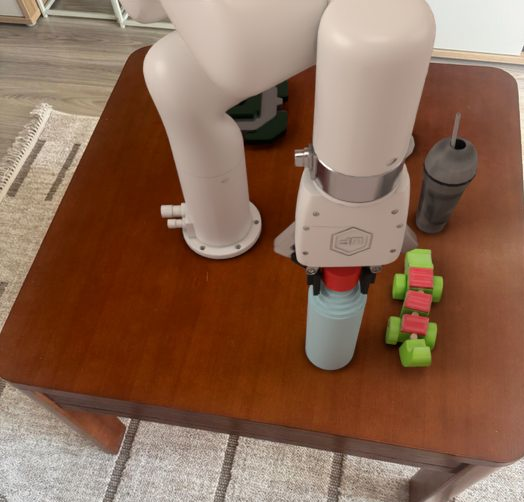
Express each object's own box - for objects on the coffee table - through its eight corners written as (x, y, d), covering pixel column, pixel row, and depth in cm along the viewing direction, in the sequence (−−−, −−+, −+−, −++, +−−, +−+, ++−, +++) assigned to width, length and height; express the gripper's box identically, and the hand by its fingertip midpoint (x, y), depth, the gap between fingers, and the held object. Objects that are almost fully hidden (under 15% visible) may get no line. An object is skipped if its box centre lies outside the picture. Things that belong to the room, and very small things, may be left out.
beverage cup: (452, 243, 81) (498, 138, 63) (404, 237, 82) (436, 132, 64) (454, 207, 84) (499, 97, 66) (408, 201, 85) (440, 92, 67)
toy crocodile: (395, 257, 80) (403, 231, 75) (440, 263, 79) (451, 238, 74) (380, 372, 72) (387, 353, 66) (429, 381, 71) (441, 362, 65)
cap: (362, 289, 57) (366, 274, 55) (323, 294, 57) (325, 278, 55) (356, 258, 59) (359, 241, 56) (318, 262, 59) (319, 246, 56)
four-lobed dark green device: (194, 83, 101) (190, 61, 97) (288, 82, 100) (288, 59, 95) (184, 151, 93) (179, 130, 89) (286, 150, 91) (286, 129, 87)
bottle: (306, 370, 73) (311, 291, 55) (304, 327, 76) (308, 238, 58) (355, 369, 72) (377, 289, 54) (352, 326, 75) (371, 237, 57)
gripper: (254, 198, 42) (264, 314, 58) (469, 191, 41) (419, 311, 58) (255, 132, 45) (264, 259, 62) (454, 124, 45) (410, 255, 61)
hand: (339, 283), depth 59 cm, fingers open, 4 cm apart
